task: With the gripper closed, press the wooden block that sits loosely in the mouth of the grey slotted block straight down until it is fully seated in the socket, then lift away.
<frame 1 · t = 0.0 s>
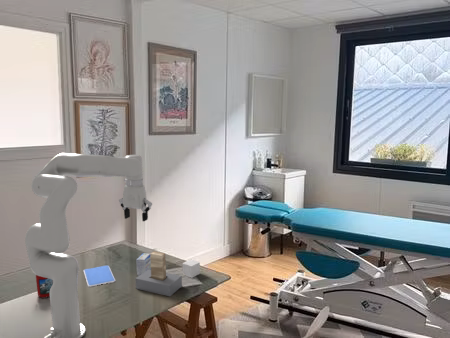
hand: (136, 219, 188), 31 cm above the table, tool pointing down, fingers open, 9 cm apart
white cube: (191, 274, 203), on the table
wooden block: (158, 265, 187), point 10 cm above the table, slide at 4.5 cm
grey slotted block: (159, 287, 189), on the table
tablet computer: (99, 277, 201), on the table
medicine box: (144, 273, 204), on the table
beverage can: (46, 295, 183), on the table
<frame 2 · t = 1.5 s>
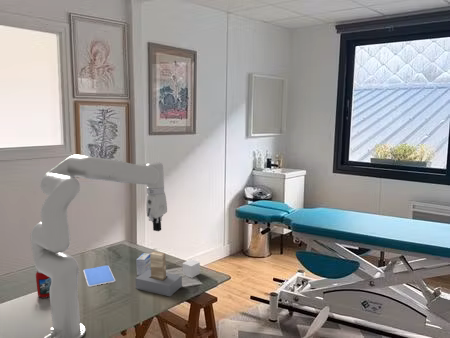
hand: (157, 230, 184), 27 cm above the table, tool pointing down, fingers closed
nothing on the table moved.
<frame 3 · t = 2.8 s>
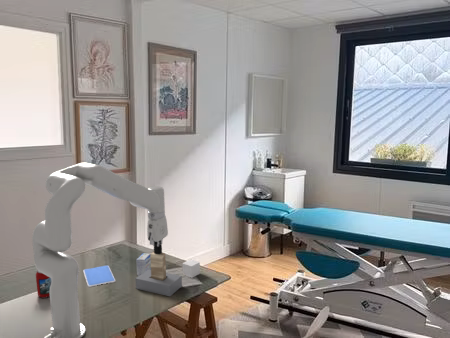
hand: (158, 253, 186), 17 cm above the table, tool pointing down, fingers closed
wooden block: (158, 265, 187), point 10 cm above the table, slide at 4.5 cm, touching gripper
everything else where it was.
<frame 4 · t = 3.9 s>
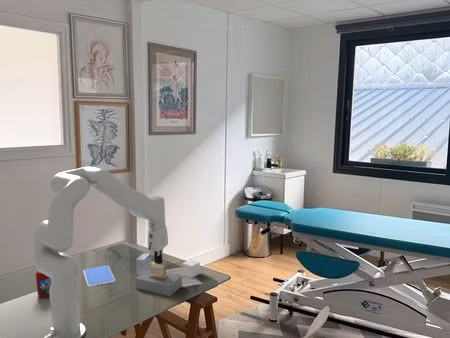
hand: (158, 262, 187), 12 cm above the table, tool pointing down, fingers closed
wooden block: (158, 275, 188), point 6 cm above the table, slide at 0.0 cm, touching gripper
everything else where it was.
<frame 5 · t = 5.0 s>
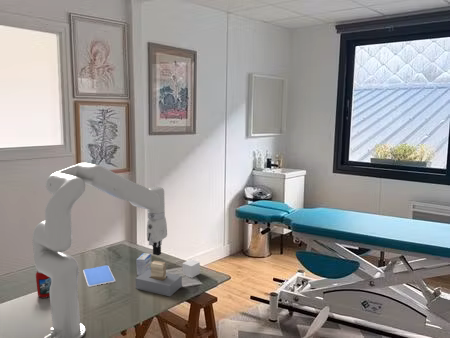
hand: (157, 254, 186), 16 cm above the table, tool pointing down, fingers closed
wooden block: (158, 275, 188), point 6 cm above the table, slide at 0.0 cm
everything else where it was.
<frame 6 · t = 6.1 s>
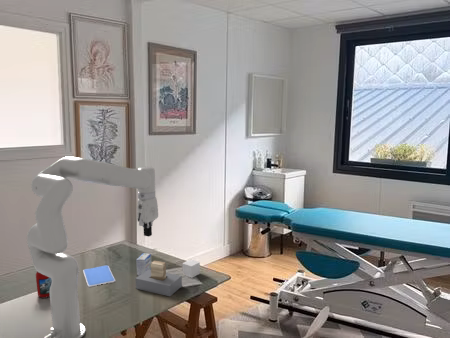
hand: (147, 235, 183), 26 cm above the table, tool pointing down, fingers closed
nothing on the table moved.
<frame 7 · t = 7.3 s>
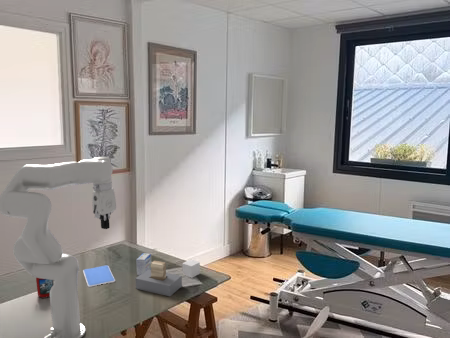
hand: (105, 228, 176), 31 cm above the table, tool pointing down, fingers closed
nothing on the table moved.
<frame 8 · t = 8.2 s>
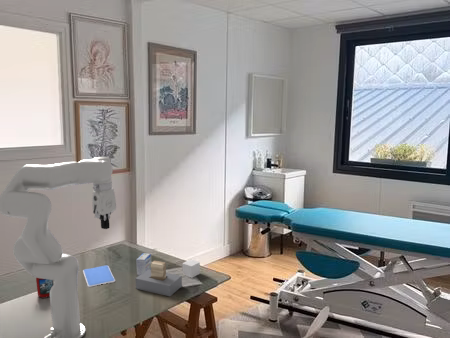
hand: (105, 228, 176), 31 cm above the table, tool pointing down, fingers closed
nothing on the table moved.
at the end: wooden block slide at 0.0 cm; the gripper is holding nothing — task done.
